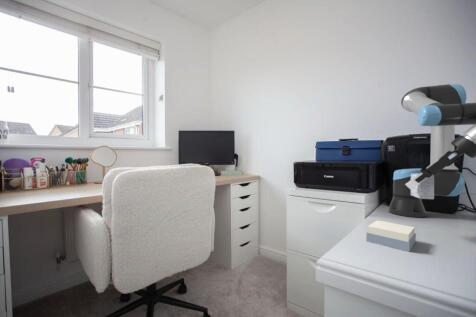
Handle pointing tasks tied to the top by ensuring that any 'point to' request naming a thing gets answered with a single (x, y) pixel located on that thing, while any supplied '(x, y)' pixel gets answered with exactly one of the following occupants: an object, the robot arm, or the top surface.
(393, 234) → the cream grey flat block
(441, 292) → the top surface
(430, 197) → the medicine box
